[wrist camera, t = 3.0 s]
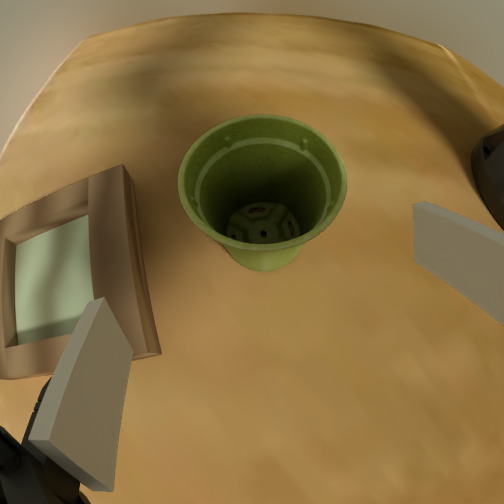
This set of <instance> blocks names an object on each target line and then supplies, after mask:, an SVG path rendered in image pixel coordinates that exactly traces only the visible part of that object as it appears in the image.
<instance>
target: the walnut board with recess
mask: <svg viewBox="0 0 504 504" xmlns="http://www.w3.org/2000/svg"><path fill="white" fill-rule="evenodd" d="M103 297H105V299H106V301H107V303H108V305H109V307H110V309H111V311H112V313H113V315H114V317H115V319H116V320H117V322H118V324H119V326H120V328H121V330H122V331H123V333H124V335H125V337H126V338H127V340H128V342H129V344H130V345H131V347H132V349H133V356H132V361H134V360H138V359H143V358H148V357H152V356H157V355H161V354H162V352H161V348H160V344H159V340H158V335H157V331H156V326H155V322H154V317H153V312H152V307H151V302H150V297H149V291H148V286H147V280H146V274H145V268H144V262H143V255H142V249H141V241H140V234H139V226H138V218H137V209H136V199H135V189H134V182H133V180H132V179H131V177H130V176H129V174H128V172H127V171H126V169H125V168H124V166H123V164H122V165H119V166H116V167H114V168H111V169H108V170H106V171H103V172H101V173H98V174H96V175H93V176H91V177H88V178H86V179H84V180H81V181H79V182H77V183H74V184H72V185H70V186H68V187H65V188H63V189H61V190H59V191H57V192H54V193H52V194H50V195H48V196H46V197H44V198H42V199H40V200H38V201H36V202H34V203H32V204H30V205H28V206H26V207H24V208H22V209H20V210H18V211H16V212H14V213H13V214H11V215H9V216H7V217H5V218H3V219H2V220H0V379H3V380H13V379H23V378H31V377H39V376H47V375H53V373H54V371H55V369H56V367H57V364H58V362H59V360H60V358H61V356H62V353H63V351H64V349H65V347H66V345H67V343H68V341H69V339H70V337H71V335H72V333H73V331H74V329H75V327H76V325H77V323H78V321H79V319H80V317H81V315H82V313H83V311H84V309H85V308H86V306H87V304H88V302H89V301H93V300H96V299H99V298H103Z"/></svg>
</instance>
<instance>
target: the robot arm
mask: <svg viewBox="0 0 504 504" xmlns="http://www.w3.org/2000/svg"><path fill="white" fill-rule="evenodd" d="M472 169H473V174H474V178H475V181H476V184H477V186H478V189H479V191H480V193H481V195H482V197H483V199H484V201H485V203H486V205H487V206H488V208H489V210H490V211H491V213H492V214H493V216H494V217H495V219H496V220H497V221H498V223H499V224H500V225H501V226H502V227H503V229H504V124H503V125H501V126H500V127H498V128H496V129H494V130H493V131H491V132H489V133H487V134H486V135H485V136H483V137H482V139H481V140H480V141H479V143H478V144H477V145H476V147H475V148H474V150H473V152H472ZM413 223H414V261H415V262H416V263H418V264H419V265H421V266H422V267H424V268H425V269H427V270H428V271H429V272H431V273H432V274H434V275H435V276H437V277H438V278H440V279H441V280H443V281H444V282H445V283H447V284H448V285H450V286H451V287H453V288H454V289H455V290H457V291H458V292H460V293H461V294H462V295H464V296H465V297H466V298H468V299H469V300H471V301H472V302H473V303H475V304H476V305H477V306H479V307H480V308H481V309H483V310H484V311H485V312H487V313H488V314H489V315H490V316H492V317H493V318H494V319H496V320H497V321H498V322H499V323H501V324H502V325H503V326H504V234H502V233H500V232H498V231H496V230H494V229H492V228H489V227H487V226H485V225H483V224H480V223H478V222H476V221H474V220H471V219H469V218H467V217H464V216H462V215H459V214H457V213H454V212H452V211H449V210H447V209H444V208H442V207H439V206H437V205H434V204H431V203H429V202H426V201H423V202H420V203H417V204H413ZM132 356H133V349H132V347H131V345H130V344H129V342H128V340H127V338H126V337H125V335H124V333H123V331H122V330H121V328H120V326H119V324H118V322H117V320H116V319H115V317H114V315H113V313H112V311H111V309H110V307H109V305H108V303H107V301H106V299H105V297H103V298H99V299H96V300H93V301H89V302H88V304H87V306H86V308H85V309H84V311H83V313H82V315H81V317H80V319H79V321H78V323H77V325H76V327H75V329H74V331H73V333H72V335H71V337H70V339H69V341H68V343H67V345H66V347H65V349H64V351H63V353H62V356H61V358H60V360H59V362H58V364H57V367H56V369H55V371H54V373H53V376H52V377H51V378H50V379H49V380H48V382H47V383H46V384H45V386H44V387H43V388H42V390H41V393H40V395H39V397H38V402H36V405H35V407H34V412H32V415H31V418H30V420H29V423H28V426H27V429H26V431H25V434H24V437H23V440H22V443H21V444H20V443H19V442H18V441H17V440H15V439H14V438H13V437H12V436H11V435H10V434H9V433H8V432H7V431H6V430H5V429H4V428H3V427H1V426H0V504H91V503H90V502H89V500H88V499H87V497H86V496H85V495H84V494H83V493H82V492H81V491H79V488H80V483H82V484H83V485H85V486H86V487H88V488H89V489H91V490H92V491H106V492H114V479H115V468H116V458H117V449H118V441H119V433H120V426H121V419H122V412H123V406H124V400H125V394H126V388H127V382H128V377H129V371H130V366H131V361H132Z"/></svg>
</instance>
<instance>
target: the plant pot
mask: <svg viewBox="0 0 504 504" xmlns="http://www.w3.org/2000/svg"><path fill="white" fill-rule="evenodd" d="M178 191H179V197H180V200H181V203H182V205H183V208H184V209H185V211H186V213H187V215H188V216H189V217H190V219H191V220H192V222H193V223H194V224H195V225H196V226H197V227H198V228H199V229H200V230H201V231H202V232H204V233H205V234H206V235H208V236H209V237H211V238H212V239H214V240H215V241H217V242H219V243H221V244H223V246H224V247H225V248H226V250H227V251H228V252H229V254H230V255H231V256H232V258H233V259H234V260H235V261H236V262H238V263H239V264H241V265H242V266H244V267H246V268H248V269H251V270H254V271H260V272H265V271H273V270H277V269H279V268H281V267H283V266H285V265H287V264H288V263H289V262H290V261H291V260H292V259H293V258H294V257H295V256H296V255H297V253H298V252H299V250H300V249H301V248H302V246H303V245H304V243H305V242H307V241H309V240H311V239H313V238H314V237H316V236H317V235H319V234H320V233H321V232H323V231H324V230H325V229H326V228H327V227H328V226H329V225H330V224H331V223H332V221H333V220H334V219H335V217H336V216H337V214H338V213H339V211H340V209H341V207H342V205H343V203H344V200H345V197H346V191H347V174H346V169H345V166H344V163H343V161H342V159H341V157H340V154H339V153H338V151H337V150H336V148H335V147H334V146H333V145H332V144H331V142H330V141H329V140H328V139H327V138H326V137H325V136H324V135H323V134H322V133H320V132H319V131H317V130H316V129H314V128H312V127H311V126H309V125H307V124H305V123H303V122H301V121H298V120H295V119H292V118H289V117H285V116H278V115H268V114H257V115H249V116H243V117H238V118H234V119H231V120H228V121H226V122H223V123H221V124H219V125H218V126H216V127H213V128H212V129H210V130H209V131H207V132H206V133H205V134H203V135H202V136H201V137H200V138H199V139H198V140H196V142H194V143H193V145H192V146H191V147H190V149H189V150H188V152H187V153H186V155H185V157H184V159H183V161H182V163H181V166H180V170H179V174H178ZM254 208H264V209H265V210H264V211H260V212H254V213H251V214H250V213H249V211H250V210H251V209H254ZM288 222H291V223H292V225H293V228H294V229H295V236H291V231H290V228H289V225H288ZM261 231H266V236H265V237H262V236H261V235H260V233H261ZM233 234H235V238H236V240H233V239H231V237H232V235H233Z"/></svg>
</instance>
